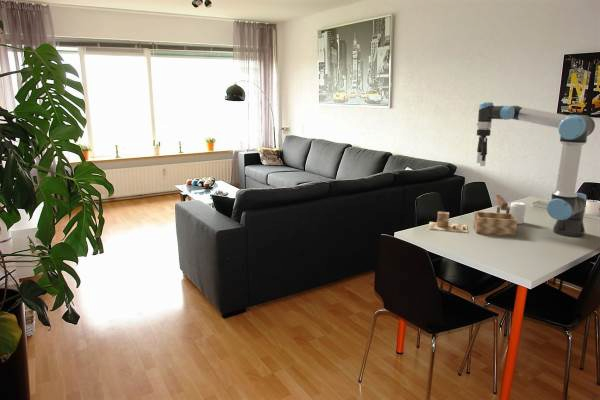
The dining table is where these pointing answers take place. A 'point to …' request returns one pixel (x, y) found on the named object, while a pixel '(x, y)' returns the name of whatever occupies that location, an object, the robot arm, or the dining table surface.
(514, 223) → the wicker basket
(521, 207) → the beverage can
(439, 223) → the lid
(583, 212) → the robot arm
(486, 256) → the dining table surface
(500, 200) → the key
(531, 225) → the dining table surface
